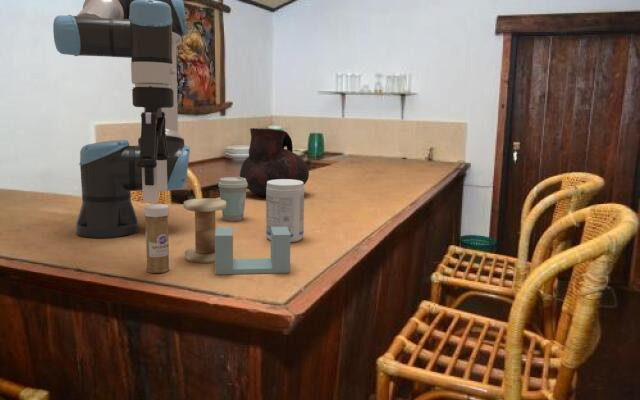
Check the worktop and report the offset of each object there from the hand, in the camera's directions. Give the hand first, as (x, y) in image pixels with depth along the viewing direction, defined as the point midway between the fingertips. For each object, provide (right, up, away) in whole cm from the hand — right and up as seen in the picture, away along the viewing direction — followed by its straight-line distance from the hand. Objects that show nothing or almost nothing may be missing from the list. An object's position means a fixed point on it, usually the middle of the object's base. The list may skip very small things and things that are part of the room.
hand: (156, 196), depth 105 cm
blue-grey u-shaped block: (+18, -15, +6) cm, 24 cm away
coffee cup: (+7, -7, +51) cm, 52 cm away
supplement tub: (+23, -11, +31) cm, 40 cm away
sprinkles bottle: (-1, -15, +3) cm, 16 cm away
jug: (+15, +1, +92) cm, 94 cm away
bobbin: (+7, -13, +13) cm, 20 cm away
